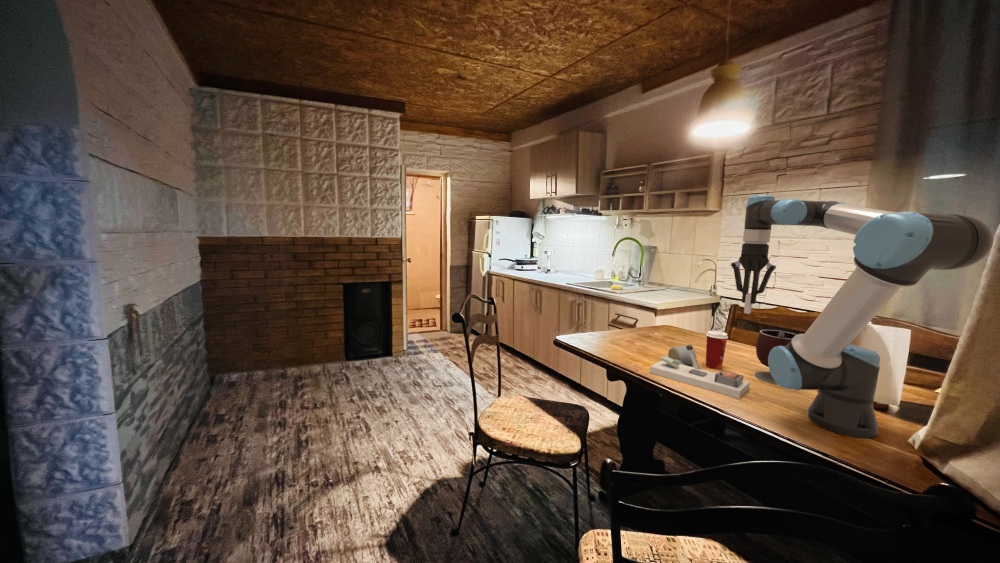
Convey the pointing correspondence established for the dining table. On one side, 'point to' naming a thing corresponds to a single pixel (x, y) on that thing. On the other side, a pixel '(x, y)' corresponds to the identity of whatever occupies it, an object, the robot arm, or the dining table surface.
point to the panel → (702, 379)
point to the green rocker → (671, 361)
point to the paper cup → (715, 349)
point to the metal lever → (693, 356)
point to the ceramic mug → (681, 355)
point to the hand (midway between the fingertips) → (747, 312)
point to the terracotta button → (729, 374)
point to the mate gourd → (766, 344)
